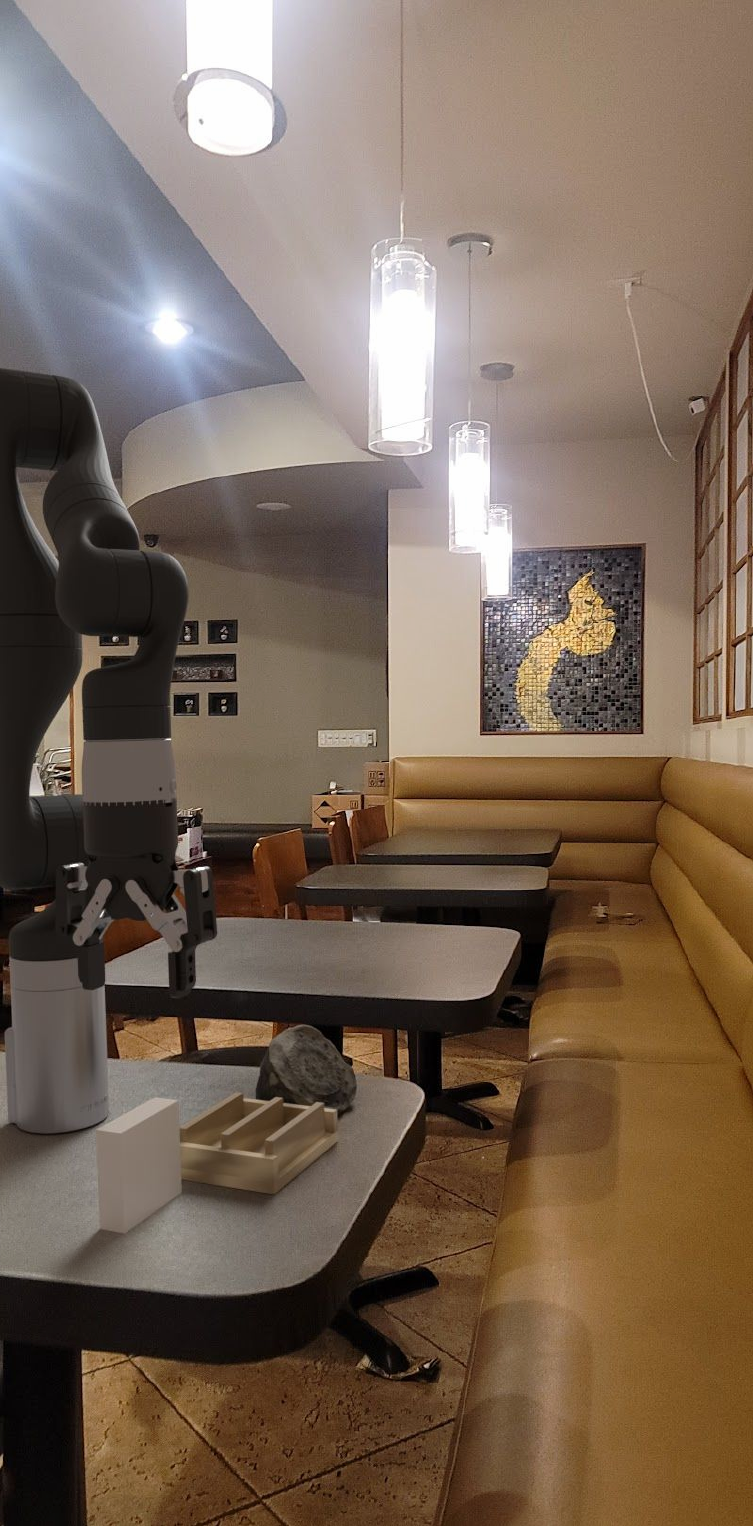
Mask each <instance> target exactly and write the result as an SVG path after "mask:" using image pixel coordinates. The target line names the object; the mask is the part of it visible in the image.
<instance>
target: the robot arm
mask: <svg viewBox="0 0 753 1526" xmlns="http://www.w3.org/2000/svg"><path fill="white" fill-rule="evenodd" d="M104 440H105V439H104V436H103V432H102V428H101V425H100V421H99V417H98V414H97V410H96V407H95V403H94V402H93V399H92V397H91V395H90V393H89V391H88V390H87V389H86V387H85V386H84V385H83V384H82V383H81V382H79V381H77V380H75V379H72V378H68V377H65V376H61V375H55V374H49V373H47V374H46V373H41V372H33V371H27V370H26V371H25V370H18V369H11V368H2V367H0V888H2V889H4V890H8V891H10V890H11V891H17V890H27V889H28V890H29V889H36V888H37V889H39V888H46V887H47V888H48V887H55V899H54V900H53V901H52V902H51V903H50V904H49V905H48V906H46V907H45V908H44V909H43V910H41V911H40V912H37V913H36V914H35V915H34V914H33V916H30V917H28V918H26V919H24V920H22V921H20V922H19V923H17V924H15V925H14V926H13V927H12V928H11V930H10V931H9V934H8V952H9V953H8V955H9V959H8V960H9V979H10V981H9V983H10V1000H11V1001H10V1003H11V1027H8V1028H7V1029H5V1031H4V1050H5V1051H4V1052H5V1055H4V1056H5V1073H6V1074H5V1075H6V1077H5V1078H6V1079H5V1080H6V1098H7V1099H6V1101H7V1102H6V1103H7V1121H8V1123H13V1124H15V1125H16V1126H17V1127H18V1128H19V1129H20V1130H22V1131H24V1132H28V1133H34V1134H60V1133H68V1132H73V1131H77V1130H82V1129H86V1128H88V1127H92V1126H94V1125H97V1124H99V1123H100V1122H102V1121H104V1120H105V1119H107V1116H108V1115H109V1114H110V1101H109V1100H110V1097H109V1078H108V1077H109V1069H108V1068H109V1067H108V1044H107V1043H108V1042H107V1038H108V1037H107V1018H106V1017H107V1016H106V992H105V990H106V989H105V984H106V961H105V959H106V958H105V957H106V956H105V955H106V953H105V942H104V941H103V939H104V938H103V937H104V935H105V933H106V931H107V930H108V928H109V926H110V925H111V923H113V922H114V921H116V920H117V921H120V920H125V919H129V920H132V921H136V922H140V921H141V922H145V921H147V922H148V923H149V924H150V926H151V928H152V929H153V930H154V931H156V932H159V934H161V936H162V938H163V940H164V941H165V942H166V944H167V945H168V948H170V950H171V951H170V952H167V963H168V964H167V965H168V966H167V967H168V988H169V989H168V993H169V997H170V998H174V999H181V998H183V997H186V996H188V995H190V994H191V992H192V989H194V988H195V986H196V982H197V973H196V971H197V970H196V966H197V965H196V949H197V948H198V946H199V945H202V944H203V943H207V942H209V941H212V940H215V939H216V937H217V936H218V925H217V915H216V914H217V913H216V901H215V889H214V879H213V870H212V869H211V867H210V866H205V865H204V866H198V867H194V868H192V869H191V868H190V869H180V868H179V866H178V863H177V859H176V855H177V849H178V846H179V830H178V829H179V828H178V825H179V824H178V800H177V774H176V773H177V771H176V761H175V756H174V755H175V754H174V751H173V743H172V742H173V741H172V725H171V724H172V720H171V688H172V687H171V686H172V679H173V678H172V677H173V671H174V667H175V661H176V656H177V650H178V646H179V642H180V638H181V634H182V631H183V627H184V624H185V618H186V616H187V610H188V606H189V599H190V598H189V597H190V589H189V588H190V587H189V582H188V579H187V575H186V573H185V571H184V569H183V567H182V565H181V564H180V562H179V561H178V560H177V559H176V558H174V557H173V556H172V555H171V554H169V553H166V552H162V551H156V550H155V551H153V550H140V549H141V540H140V535H139V532H138V529H137V526H136V525H135V522H134V520H133V519H132V517H131V515H130V512H129V511H128V509H127V507H126V505H125V503H124V501H123V499H122V497H121V496H120V494H119V492H118V490H117V487H116V485H115V482H114V479H113V476H112V472H111V467H110V462H109V458H108V454H107V453H108V452H107V448H106V445H105V441H104ZM17 468H22V469H30V470H31V469H32V470H41V471H50V472H51V471H53V472H55V473H54V474H53V476H52V477H51V478H50V480H49V481H48V484H47V485H46V488H45V490H44V494H43V497H42V515H43V519H44V524H45V526H46V528H47V531H48V533H49V536H50V538H51V540H52V543H53V545H54V548H55V551H56V553H57V557H58V559H57V557H56V556H55V554H54V553H53V551H52V549H51V548H50V547H49V545H48V544H47V542H46V541H45V540H44V537H42V535H41V533H40V532H39V530H38V528H37V526H36V524H35V522H34V520H33V518H32V516H31V514H30V513H29V511H28V508H27V505H26V502H25V499H24V495H23V492H22V489H21V484H20V481H19V475H18V469H17ZM83 636H88V637H121V638H122V637H127V638H139V642H138V643H139V644H138V647H137V648H136V651H135V654H134V655H133V656H132V658H130V660H128V661H125V662H122V663H118V664H113V665H112V664H111V665H107V666H102V667H101V666H100V667H98V668H94V669H92V670H90V671H89V672H87V673H86V674H85V675H84V677H83V679H82V685H81V709H82V710H81V711H82V730H83V731H82V733H83V734H82V738H83V751H82V759H81V760H82V761H81V792H82V793H81V794H77V793H76V794H58V795H40V796H38V795H37V796H30V794H31V793H30V790H31V779H32V772H33V768H34V764H35V759H36V756H37V754H38V750H39V748H40V745H41V743H42V741H43V739H44V737H45V735H46V733H47V731H48V730H49V728H50V726H51V724H52V722H53V721H54V719H55V718H56V716H57V715H58V713H59V711H60V710H61V708H62V706H63V705H64V703H65V702H66V700H67V699H68V697H69V695H70V693H71V691H72V690H73V687H74V686H75V684H76V682H77V681H78V677H79V675H80V672H81V669H82V666H83ZM178 887H179V893H180V894H182V895H183V896H184V902H185V908H184V906H183V905H182V903H181V902H180V901H179V898H178V897H177V896H176V895H175V892H176V890H177V889H178ZM164 910H165V911H166V912H163V911H164Z"/></svg>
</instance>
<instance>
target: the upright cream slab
mask: <svg viewBox="0 0 753 1526" xmlns="http://www.w3.org/2000/svg"><path fill="white" fill-rule="evenodd" d="M179 1106H180V1105H179V1100H178V1099H172V1098H164V1097H163V1098H162V1097H156V1096H155V1097H153V1098H151V1099H148V1101H146V1102H143V1103H142V1104H141V1105H138V1106H137V1107H135V1108H132V1109H131V1110H129V1111H128V1112H125V1113H124V1114H121V1115H120V1116H119V1117H117V1118H115V1119H113V1120H111V1121H110V1122H108V1123H106V1124H104V1125H102V1126H100V1127H99V1128H96V1130H95V1134H96V1137H95V1139H96V1163H97V1167H96V1168H97V1188H98V1189H97V1191H98V1213H99V1214H98V1215H99V1217H98V1219H99V1230H103V1231H109V1232H115V1233H119V1234H126V1233H127V1232H129V1231H131V1230H132V1229H133V1228H135V1227H136V1226H138V1225H139V1224H140V1223H142V1221H145V1219H147V1218H149V1217H150V1216H152V1215H153V1214H154V1213H156V1212H157V1211H158V1210H160V1209H161V1208H162V1207H164V1206H165V1205H167V1204H168V1203H170V1202H171V1201H172V1200H173V1199H174V1198H176V1197H178V1196H179V1195H180V1194H182V1193H183V1192H182V1191H183V1190H182V1179H181V1158H180V1131H179V1127H180V1109H179V1108H180V1107H179Z"/></svg>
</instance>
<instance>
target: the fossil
mask: <svg viewBox="0 0 753 1526" xmlns="http://www.w3.org/2000/svg"><path fill="white" fill-rule="evenodd" d="M356 1078H357V1077H356V1074H355V1072H354V1068H353V1066H351V1065H350V1064H349V1063H347V1062H345V1061H344V1059H343V1057H342V1055H341V1053H340V1052H339V1051H338V1049H337V1048H336V1045H334V1044H333V1043H332V1041H331V1040H330V1039H328V1038H326V1037H325V1035H323V1034H322V1032H321V1031H320V1030H318V1029H317V1028H316V1027H313V1026H312V1025H310V1024H309V1025H308V1024H298V1025H296V1026H293V1027H289V1028H287V1029H285V1030H283V1031H282V1032H281V1033H279V1034H278V1033H277V1035H276V1036H275V1037H274V1038H272V1039H271V1040H270V1042H269V1045H268V1047H267V1050H266V1053H265V1055H264V1057H263V1059H262V1060H261V1063H260V1067H259V1077H258V1079H257V1082H256V1088H255V1099H256V1100H264V1101H270V1100H272V1099H273V1098H275V1097H280V1098H283V1103H288V1104H296V1105H304V1106H312V1105H313V1104H315V1103H316V1102H321V1103H324V1108H328V1109H336V1110H337V1116H338V1115H340V1114H341V1113H343V1112H344V1111H345V1110H346V1109H348V1107H349V1106H350V1105H351V1103H352V1102H353V1101H354V1100H355V1098H356V1094H357V1087H358V1085H357V1079H356Z"/></svg>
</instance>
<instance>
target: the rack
mask: <svg viewBox="0 0 753 1526" xmlns="http://www.w3.org/2000/svg"><path fill="white" fill-rule="evenodd" d="M338 1125H339V1123H338V1115H337V1110H336V1109H328V1108H324V1103H321V1102H316V1103H315V1104H313V1105H312V1106H304V1105H296V1104H288V1103H283V1098H280V1097H275V1098H273V1099H272V1100H270V1101H264V1100H256V1098H247V1097H244V1092H237V1091H235V1092H234V1093H232V1094H230V1095H228V1096H227V1097H226V1098H224V1099H223V1100H220V1102H218V1103H216V1104H214V1105H213V1106H211V1107H209V1108H208V1109H207V1110H205V1111H203V1112H201V1113H200V1114H199V1115H197V1116H195V1117H194V1118H192V1119H191V1120H189V1121H187V1122H186V1123H184V1124H182V1125H181V1126H179V1131H180V1158H181V1181H183V1180H184V1181H190V1182H195V1183H202V1184H208V1185H214V1186H219V1187H225V1188H233V1189H239V1190H244V1191H251V1192H257V1193H263V1194H269V1195H276V1194H277V1193H278V1192H279V1191H280V1190H281V1189H283V1188H284V1187H285V1186H286V1185H288V1184H289V1183H290V1182H291V1181H292V1180H293V1179H295V1178H296V1177H297V1176H298V1175H299V1174H301V1173H302V1172H303V1171H304V1170H305V1169H306V1168H308V1167H309V1166H310V1165H311V1164H313V1163H314V1162H315V1161H316V1160H317V1159H319V1158H320V1157H321V1156H322V1155H324V1153H325V1152H326V1151H328V1150H330V1148H331V1147H333V1146H335V1144H336V1143H337V1142H338V1141H339V1128H338V1127H339V1126H338Z"/></svg>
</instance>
